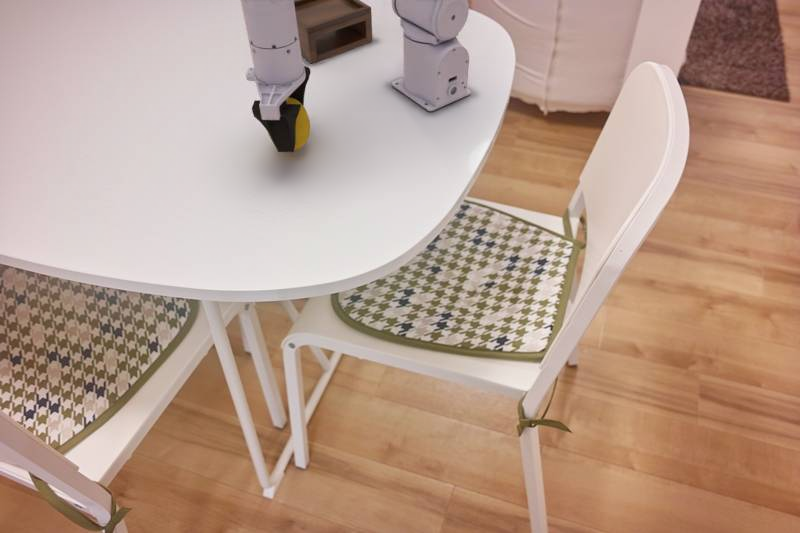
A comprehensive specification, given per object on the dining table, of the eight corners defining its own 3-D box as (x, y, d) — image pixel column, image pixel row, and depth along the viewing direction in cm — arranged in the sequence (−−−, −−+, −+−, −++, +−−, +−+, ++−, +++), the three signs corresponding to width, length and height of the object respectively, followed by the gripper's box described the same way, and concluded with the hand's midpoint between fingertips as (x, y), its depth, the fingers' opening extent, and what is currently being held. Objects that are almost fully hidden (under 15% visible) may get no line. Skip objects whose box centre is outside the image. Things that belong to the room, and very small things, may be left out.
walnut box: (372, 41, 102) (371, 7, 98) (311, 63, 97) (307, 28, 93) (339, 20, 108) (337, -14, 103) (280, 40, 103) (274, 5, 98)
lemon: (318, 157, 81) (311, 104, 75) (277, 167, 79) (267, 113, 73) (306, 134, 84) (299, 82, 78) (267, 143, 83) (256, 90, 77)
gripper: (252, 8, 75) (270, 105, 85) (223, 68, 65) (248, 170, 75) (309, 9, 75) (321, 106, 85) (289, 69, 65) (304, 171, 75)
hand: (290, 136), depth 80 cm, fingers closed on lemon, 5 cm apart
